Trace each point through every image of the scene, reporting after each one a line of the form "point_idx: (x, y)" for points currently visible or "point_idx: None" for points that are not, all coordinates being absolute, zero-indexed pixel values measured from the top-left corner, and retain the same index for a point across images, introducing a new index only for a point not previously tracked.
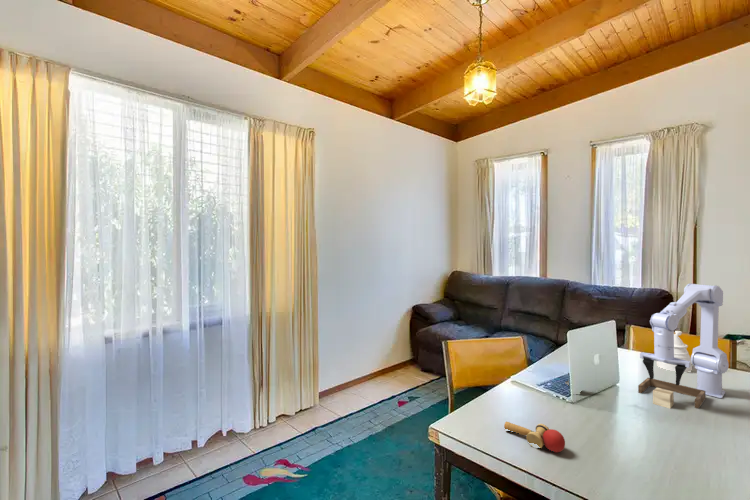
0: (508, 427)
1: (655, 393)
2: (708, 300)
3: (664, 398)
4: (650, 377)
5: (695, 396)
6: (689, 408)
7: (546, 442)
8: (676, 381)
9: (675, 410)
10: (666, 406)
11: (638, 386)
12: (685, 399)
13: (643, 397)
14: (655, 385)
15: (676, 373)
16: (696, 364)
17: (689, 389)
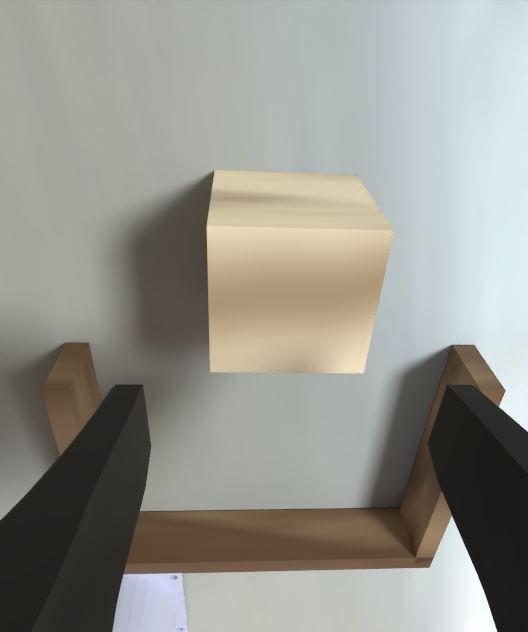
0: None
1: (359, 220)
2: None
3: (263, 204)
4: (479, 398)
5: (153, 514)
6: (107, 300)
7: None
8: (116, 420)
9: (167, 158)
10: (243, 175)
11: (499, 383)
12: (183, 442)
13: (436, 273)
14: (372, 518)
15: (48, 561)
16: None
17: (180, 551)
